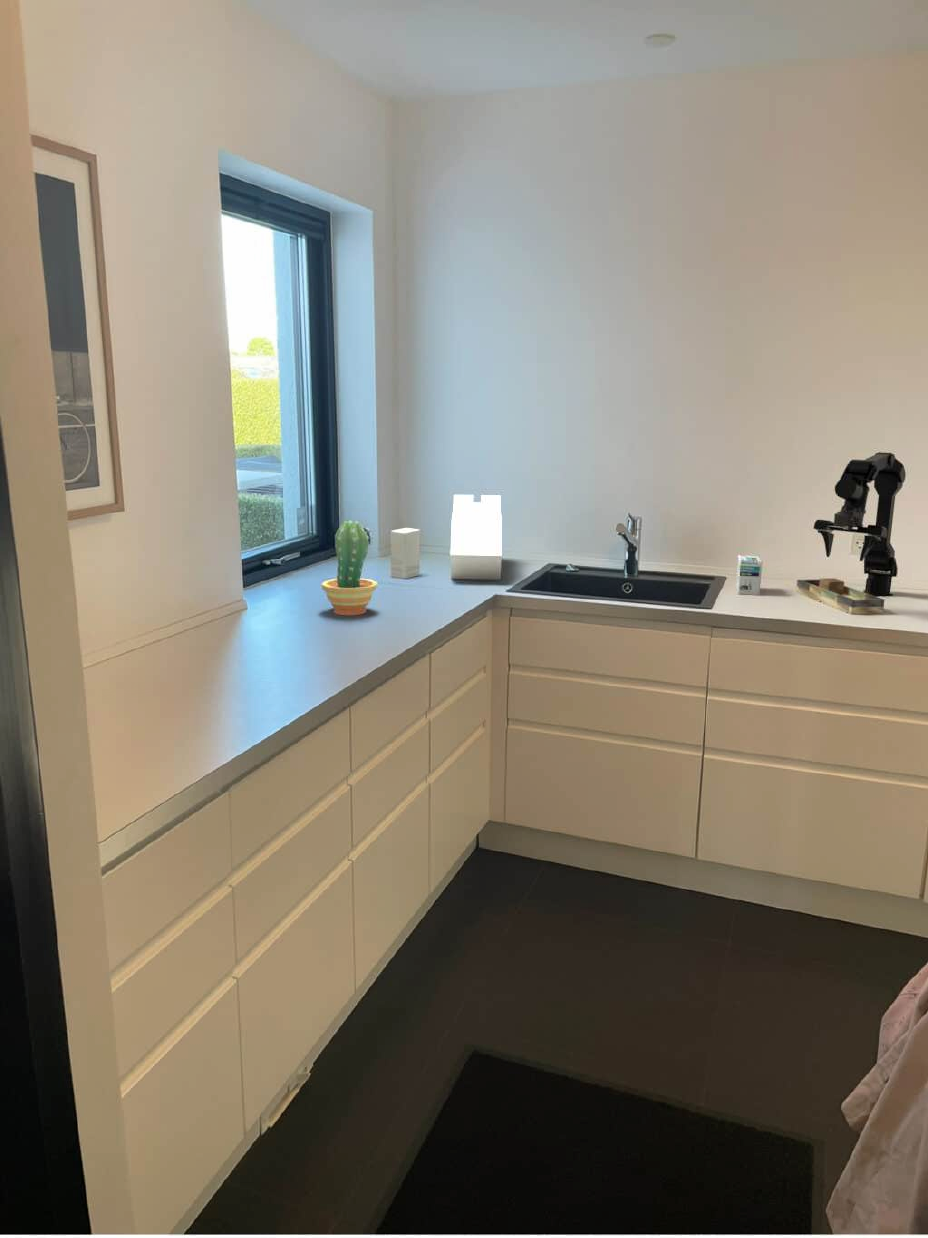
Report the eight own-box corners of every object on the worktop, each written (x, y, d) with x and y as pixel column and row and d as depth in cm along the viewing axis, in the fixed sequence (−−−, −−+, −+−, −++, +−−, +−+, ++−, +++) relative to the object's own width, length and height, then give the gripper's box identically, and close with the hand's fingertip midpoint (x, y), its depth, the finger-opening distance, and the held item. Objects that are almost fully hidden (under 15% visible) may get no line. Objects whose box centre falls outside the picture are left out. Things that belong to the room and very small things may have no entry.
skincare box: (405, 573, 311) (405, 527, 307) (421, 575, 307) (421, 529, 303) (389, 577, 304) (389, 530, 301) (405, 579, 301) (405, 532, 297)
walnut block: (833, 591, 283) (835, 578, 282) (842, 594, 278) (844, 581, 277) (818, 591, 282) (820, 578, 281) (827, 595, 277) (829, 581, 276)
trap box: (825, 591, 292) (826, 579, 291) (882, 613, 263) (884, 599, 262) (796, 592, 290) (797, 579, 289) (850, 614, 261) (852, 600, 260)
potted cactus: (383, 616, 250) (382, 524, 244) (326, 619, 246) (324, 526, 240) (372, 604, 265) (371, 517, 259) (318, 606, 260) (316, 518, 254)
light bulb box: (760, 595, 284) (763, 561, 282) (737, 594, 286) (740, 560, 283) (756, 588, 295) (759, 555, 292) (734, 587, 296) (737, 554, 293)
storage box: (501, 555, 291) (501, 470, 309) (450, 554, 291) (453, 469, 310) (499, 600, 314) (499, 518, 332) (451, 599, 314) (454, 517, 332)
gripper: (812, 496, 260) (801, 551, 261) (881, 502, 248) (869, 559, 249) (825, 503, 268) (815, 556, 269) (892, 509, 256) (881, 564, 257)
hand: (844, 559), depth 261 cm, fingers open, 9 cm apart
